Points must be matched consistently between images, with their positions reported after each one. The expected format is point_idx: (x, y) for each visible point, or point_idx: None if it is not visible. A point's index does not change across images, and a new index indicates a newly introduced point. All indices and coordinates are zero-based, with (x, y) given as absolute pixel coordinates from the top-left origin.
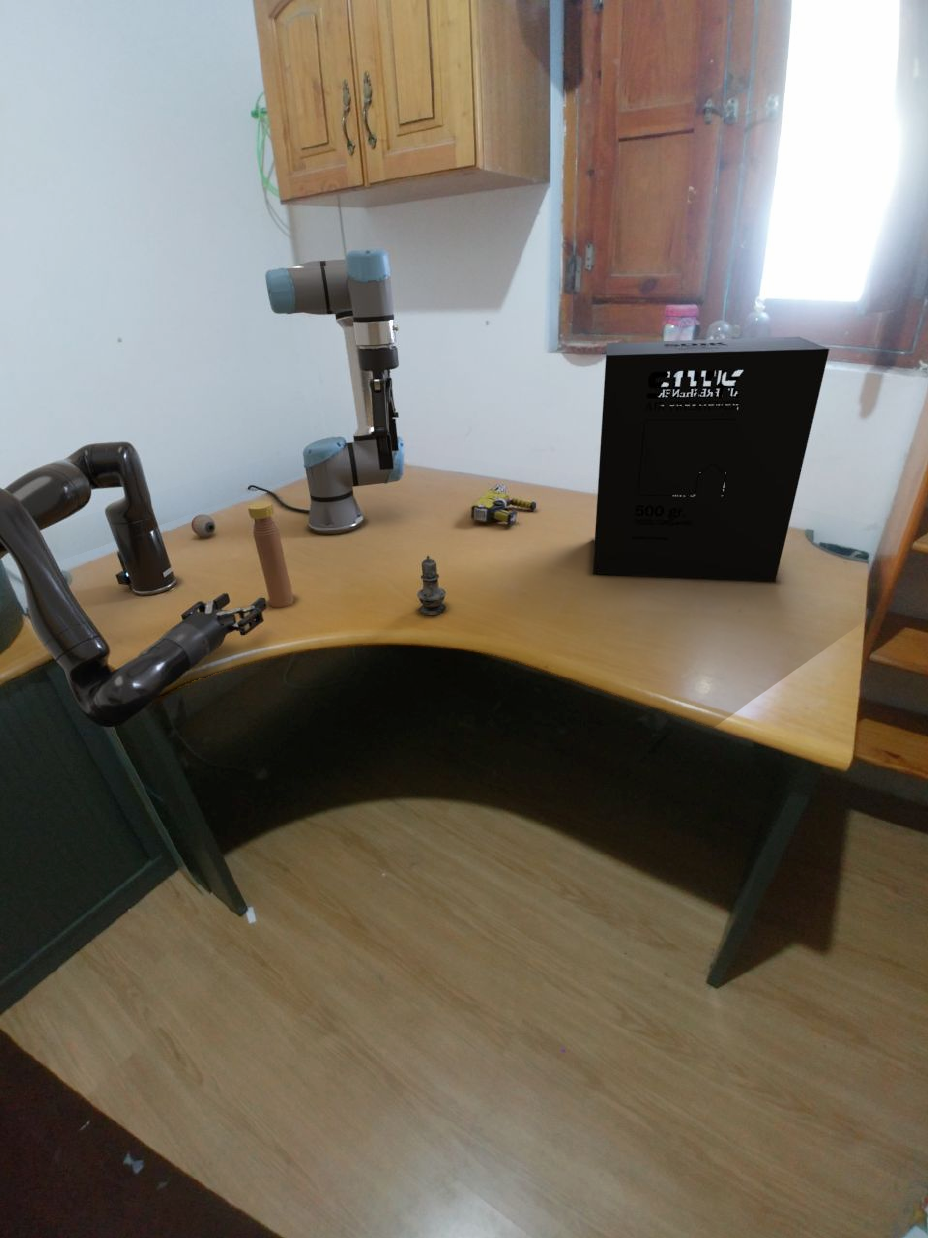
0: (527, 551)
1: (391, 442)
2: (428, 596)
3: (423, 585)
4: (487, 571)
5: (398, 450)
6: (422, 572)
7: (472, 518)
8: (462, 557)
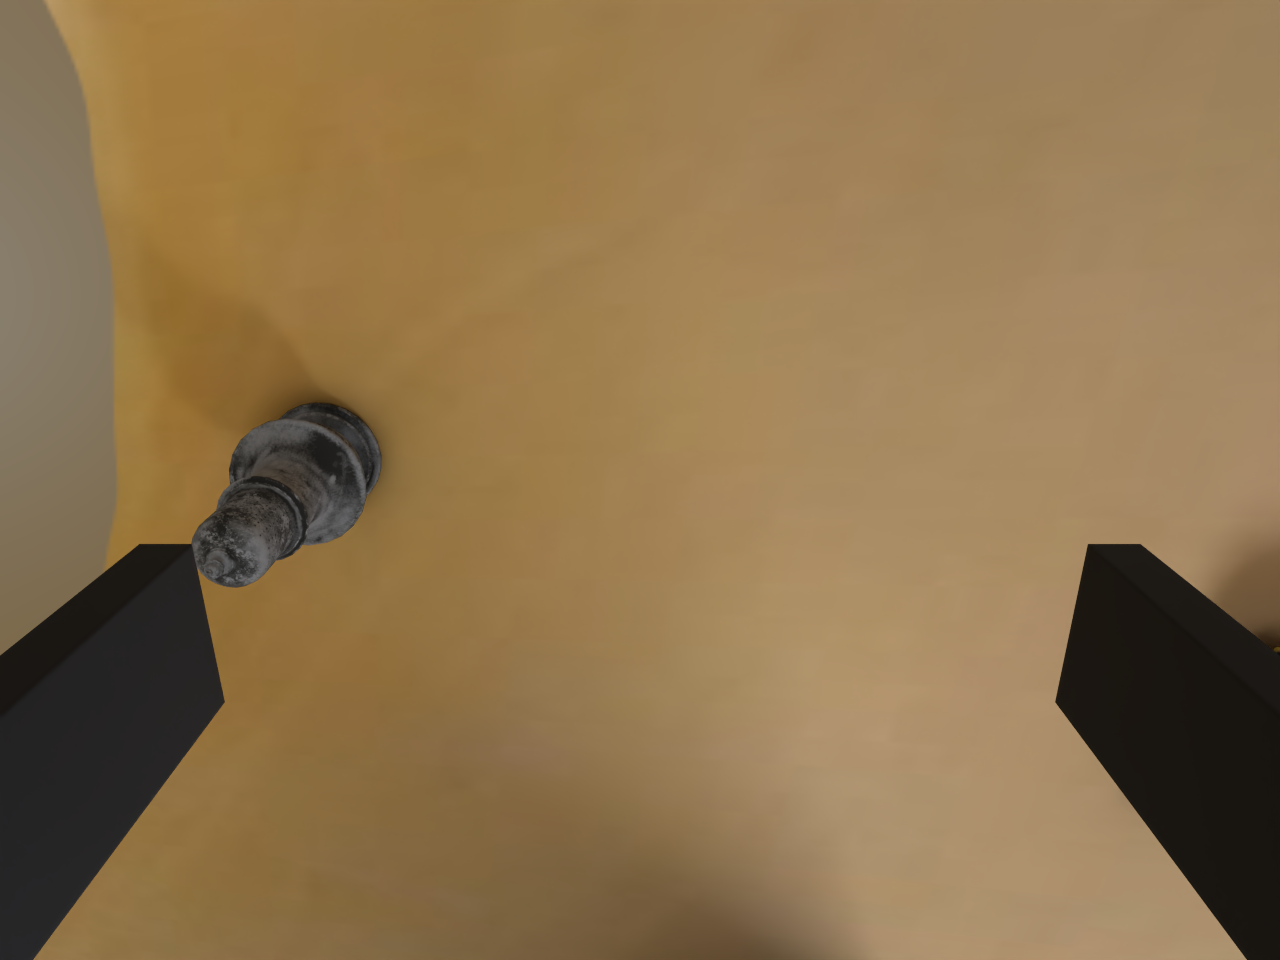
0: (847, 826)
1: (1134, 699)
2: (244, 476)
3: (261, 471)
4: (675, 673)
5: (1056, 701)
6: (235, 498)
7: (1278, 650)
8: (847, 577)
